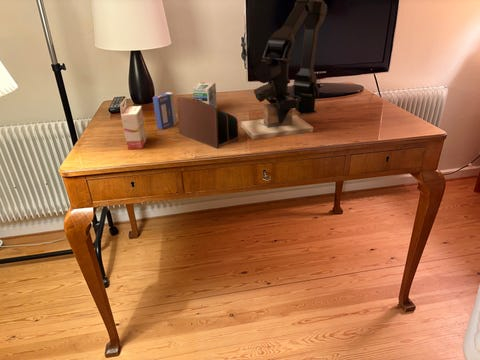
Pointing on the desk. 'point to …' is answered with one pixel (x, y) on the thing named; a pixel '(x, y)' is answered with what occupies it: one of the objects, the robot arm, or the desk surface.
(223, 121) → the letter holder
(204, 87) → the light bulb box
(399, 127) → the desk surface
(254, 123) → the birch board
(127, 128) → the ink cartridge box
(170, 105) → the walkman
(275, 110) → the block
